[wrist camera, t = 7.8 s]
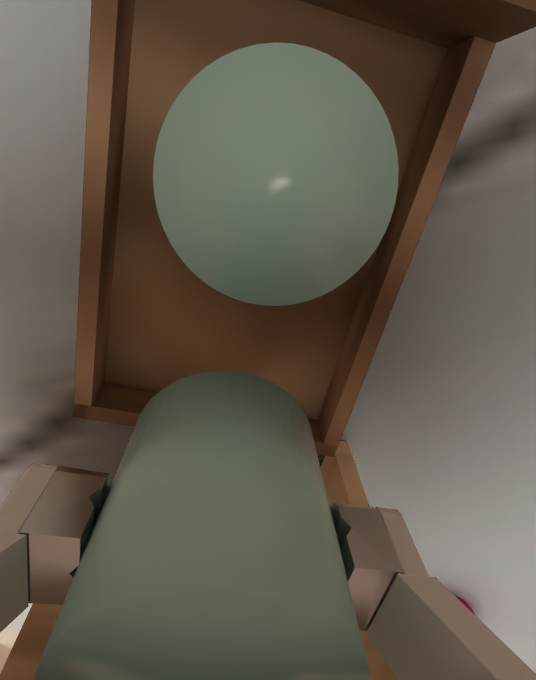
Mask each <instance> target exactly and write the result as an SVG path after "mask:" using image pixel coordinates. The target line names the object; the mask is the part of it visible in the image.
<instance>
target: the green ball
mask: <svg viewBox="0 0 536 680" xmlns="http://www.w3.org/2000/svg"><path fill="white" fill-rule="evenodd" d="M398 173H399V169H398V156H397V149H396V144H395V139H394V135H393V132H392V129H391V126H390V123H389V120H388V118H387V116H386V114H385V112H384V110H383V108H382V106H381V104H380V102H379V101H378V99H377V98H376V96H375V95H374V93H373V92H372V91H371V89H370V88H369V87H368V86H367V84H366V83H365V82H364V81H363V80H362V79H361V78H360V77H359V76H358V75H357V74H356V73H355V72H354V71H352V70H351V69H350V68H349V67H347V66H346V65H345V64H344V63H342V62H340V61H339V60H337V59H335V58H334V57H332V56H330V55H329V54H326V53H324V52H321V51H319V50H316V49H314V48H311V47H307V46H302V45H298V44H293V43H276V42H274V43H264V44H256V45H252V46H248V47H244V48H241V49H238V50H235V51H233V52H231V53H229V54H226V55H224V56H222V57H220V58H219V59H217V60H216V61H214V62H212V63H211V64H209V65H208V66H206V67H205V68H204V69H203V70H202V71H200V72H199V73H198V74H197V75H196V76H195V77H194V78H192V80H191V81H190V82H189V83H188V84H187V85H186V87H185V88H184V89H183V90H182V91H181V92H180V94H179V95H178V97H177V98H176V100H175V102H174V103H173V105H172V106H171V108H170V110H169V112H168V114H167V116H166V118H165V120H164V123H163V125H162V128H161V131H160V134H159V137H158V141H157V145H156V150H155V156H154V165H153V186H154V197H155V202H156V207H157V211H158V215H159V218H160V221H161V224H162V227H163V229H164V231H165V233H166V235H167V238H168V240H169V242H170V243H171V245H172V247H173V248H174V250H175V251H176V253H177V255H178V256H179V257H180V258H181V260H182V261H183V262H184V263H185V265H186V266H187V267H188V268H189V269H190V270H191V271H192V272H193V273H194V274H195V275H196V276H197V277H198V278H199V279H201V280H202V281H204V282H205V283H206V284H208V285H209V286H210V287H212V288H214V289H215V290H217V291H219V292H221V293H222V294H224V295H227V296H229V297H232V298H234V299H236V300H240V301H243V302H247V303H251V304H257V305H264V306H282V305H292V304H297V303H301V302H306V301H309V300H312V299H314V298H317V297H320V296H322V295H324V294H326V293H328V292H330V291H332V290H334V289H335V288H337V287H338V286H340V285H341V284H343V283H344V282H346V281H347V280H348V279H349V278H350V277H352V276H353V275H354V274H355V273H356V272H357V271H358V270H359V269H360V268H361V267H362V266H363V265H364V264H365V263H366V262H367V261H368V259H369V258H370V256H371V255H372V254H373V252H374V251H375V250H376V248H377V246H378V245H379V243H380V241H381V239H382V238H383V236H384V234H385V232H386V229H387V227H388V224H389V222H390V220H391V216H392V213H393V209H394V206H395V202H396V196H397V189H398Z"/></svg>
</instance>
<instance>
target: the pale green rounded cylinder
mask: <svg viewBox="0 0 536 680" xmlns="http://www.w3.org/2000/svg"><path fill="white" fill-rule="evenodd" d="M34 680H370V671H369V667H368V663H367V659H366V655H365V651H364V647H363V642H362V638H361V634H360V630H359V626H358V622H357V617H356V613H355V609H354V605H353V601H352V597H351V593H350V588H349V584H348V580H347V576H346V572H345V568H344V564H343V559H342V555H341V551H340V547H339V543H338V539H337V535H336V530H335V526H334V522H333V518H332V514H331V510H330V506H329V501H328V497H327V493H326V489H325V485H324V481H323V476H322V472H321V468H320V464H319V460H318V456H317V452H316V447H315V443H314V439H313V435H312V431H311V427H310V423H309V421H308V419H307V416H306V414H305V413H304V411H303V409H302V408H301V406H300V405H299V404H298V403H297V401H296V400H295V399H294V398H293V397H292V396H291V395H290V394H288V393H287V392H286V391H285V390H283V389H282V388H280V387H279V386H278V385H276V384H274V383H272V382H270V381H268V380H266V379H264V378H261V377H258V376H255V375H252V374H247V373H243V372H236V371H209V372H202V373H198V374H194V375H190V376H187V377H185V378H182V379H179V380H177V381H175V382H173V383H171V384H170V385H168V386H166V387H165V388H164V389H162V390H161V391H159V392H158V393H157V394H156V395H155V396H154V397H153V398H152V399H151V400H150V401H149V402H148V403H147V405H146V406H145V407H144V409H143V410H142V412H141V414H140V416H139V418H138V420H137V423H136V425H135V427H134V430H133V432H132V435H131V437H130V440H129V442H128V445H127V447H126V450H125V452H124V455H123V457H122V460H121V462H120V465H119V467H118V469H117V472H116V474H115V477H114V479H113V482H112V484H111V487H110V489H109V492H108V494H107V497H106V499H105V502H104V504H103V507H102V509H101V511H100V514H99V516H98V519H97V521H96V524H95V526H94V529H93V531H92V534H91V536H90V539H89V541H88V544H87V546H86V549H85V551H84V553H83V556H82V558H81V561H80V563H79V566H78V568H77V571H76V573H75V576H74V578H73V581H72V583H71V586H70V588H69V591H68V593H67V596H66V598H65V600H64V603H63V605H62V608H61V610H60V613H59V615H58V618H57V620H56V623H55V625H54V628H53V630H52V633H51V635H50V638H49V640H48V642H47V645H46V647H45V650H44V652H43V655H42V657H41V660H40V662H39V665H38V668H37V670H36V673H35V678H34Z"/></svg>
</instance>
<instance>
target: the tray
mask: <svg viewBox="0 0 536 680" xmlns="http://www.w3.org/2000/svg"><path fill="white" fill-rule="evenodd" d="M533 27H536V0H92V6H91V28H90V51H89V73H88V96H87V118H86V140H85V163H84V185H83V208H82V230H81V253H80V275H79V298H78V320H77V343H76V365H75V387H74V410H73V417H78V418H84V419H91V420H97V421H104V422H110V423H117V424H123V425H130V426H135V425H136V423H137V420H138V418H139V416H140V414H141V412H142V410H143V409H144V407H145V406H146V405H147V403H148V402H149V401H150V400H151V399H152V398H153V397H154V396H155V395H156V394H157V393H158V392H159V391H161V390H162V389H164V388H165V387H166V386H168V385H170V384H171V383H173V382H175V381H177V380H179V379H182V378H185V377H187V376H190V375H194V374H198V373H202V372H209V371H236V372H243V373H247V374H252V375H255V376H258V377H261V378H264V379H266V380H268V381H270V382H272V383H274V384H276V385H278V386H279V387H280V388H282V389H283V390H285V391H286V392H287V393H288V394H290V395H291V396H292V397H293V398H294V399H295V400H296V401H297V403H298V404H299V405H300V406H301V408H302V409H303V411H304V413H305V414H306V416H307V419H308V421H309V423H310V427H311V431H312V435H313V439H314V443H315V447H316V452H317V455H323V456H329V457H334V455H335V452H336V450H337V447H338V445H339V442H340V439H341V437H342V434H343V432H344V429H345V427H346V424H347V422H348V419H349V416H350V414H351V411H352V409H353V406H354V404H355V401H356V399H357V396H358V394H359V391H360V388H361V386H362V383H363V381H364V378H365V376H366V373H367V371H368V368H369V365H370V363H371V360H372V358H373V355H374V353H375V350H376V348H377V345H378V343H379V340H380V337H381V335H382V332H383V330H384V327H385V325H386V322H387V320H388V317H389V314H390V312H391V309H392V307H393V304H394V302H395V299H396V297H397V294H398V292H399V289H400V286H401V284H402V281H403V279H404V276H405V274H406V271H407V269H408V266H409V263H410V261H411V258H412V256H413V253H414V251H415V248H416V246H417V243H418V240H419V238H420V235H421V233H422V230H423V228H424V225H425V223H426V220H427V218H428V215H429V212H430V210H431V207H432V205H433V202H434V200H435V197H436V195H437V192H438V189H439V187H440V184H441V182H442V179H443V177H444V174H445V172H446V169H447V167H448V164H449V161H450V159H451V156H452V154H453V151H454V149H455V146H456V144H457V141H458V138H459V136H460V133H461V131H462V128H463V126H464V123H465V121H466V118H467V116H468V113H469V110H470V108H471V105H472V103H473V100H474V98H475V95H476V93H477V90H478V87H479V85H480V82H481V80H482V77H483V75H484V72H485V70H486V67H487V64H488V62H489V59H490V57H491V54H492V52H493V49H494V47H495V44H496V43H497V42H500V41H502V40H504V39H507V38H509V37H512V36H514V35H516V34H519V33H521V32H524V31H526V30H528V29H531V28H533ZM274 42H276V43H293V44H298V45H302V46H307V47H311V48H314V49H316V50H319V51H321V52H324V53H326V54H329V55H330V56H332V57H334V58H335V59H337V60H339V61H340V62H342V63H344V64H345V65H346V66H347V67H349V68H350V69H351V70H352V71H354V72H355V73H356V74H357V75H358V76H359V77H360V78H361V79H362V80H363V81H364V82H365V83H366V84H367V86H368V87H369V88H370V89H371V91H372V92H373V93H374V95H375V96H376V98H377V99H378V101H379V102H380V104H381V106H382V108H383V110H384V112H385V114H386V116H387V118H388V120H389V123H390V126H391V129H392V132H393V135H394V139H395V144H396V149H397V156H398V169H399V173H398V189H397V196H396V202H395V206H394V209H393V213H392V216H391V220H390V222H389V224H388V227H387V229H386V232H385V234H384V236H383V238H382V239H381V241H380V243H379V245H378V246H377V248H376V250H375V251H374V252H373V254H372V255H371V256H370V258H369V259H368V261H367V262H366V263H365V264H364V265H363V266H362V267H361V268H360V269H359V270H358V271H357V272H356V273H355V274H354V275H353V276H352V277H350V278H349V279H348V280H347V281H346V282H344V283H343V284H341V285H340V286H338V287H337V288H335V289H334V290H332V291H330V292H328V293H326V294H324V295H322V296H320V297H317V298H314V299H312V300H309V301H306V302H301V303H297V304H292V305H282V306H264V305H257V304H251V303H247V302H243V301H240V300H236V299H234V298H232V297H229V296H227V295H224V294H222V293H221V292H219V291H217V290H215V289H214V288H212V287H210V286H209V285H208V284H206V283H205V282H204V281H202V280H201V279H199V278H198V277H197V276H196V275H195V274H194V273H193V272H192V271H191V270H190V269H189V268H188V267H187V266H186V265H185V263H184V262H183V261H182V260H181V258H180V257H179V256H178V255H177V253H176V251H175V250H174V248H173V247H172V245H171V243H170V242H169V240H168V238H167V235H166V233H165V231H164V229H163V227H162V224H161V221H160V218H159V215H158V211H157V207H156V202H155V197H154V186H153V165H154V156H155V150H156V145H157V141H158V137H159V134H160V131H161V128H162V125H163V123H164V120H165V118H166V116H167V114H168V112H169V110H170V108H171V106H172V105H173V103H174V102H175V100H176V98H177V97H178V95H179V94H180V92H181V91H182V90H183V89H184V88H185V87H186V85H187V84H188V83H189V82H190V81H191V80H192V78H194V77H195V76H196V75H197V74H198V73H199V72H200V71H202V70H203V69H204V68H205V67H206V66H208V65H209V64H211V63H212V62H214V61H216V60H217V59H219V58H220V57H222V56H224V55H226V54H229V53H231V52H233V51H235V50H238V49H241V48H244V47H248V46H252V45H256V44H264V43H274Z"/></svg>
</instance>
